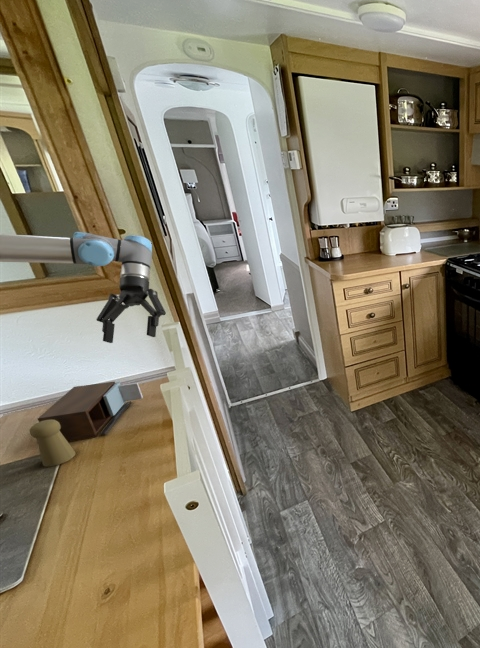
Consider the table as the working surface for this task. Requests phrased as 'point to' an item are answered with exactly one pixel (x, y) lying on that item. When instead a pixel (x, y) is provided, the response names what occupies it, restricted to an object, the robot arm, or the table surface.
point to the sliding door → (121, 396)
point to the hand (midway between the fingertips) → (129, 339)
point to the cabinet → (83, 412)
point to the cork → (51, 443)
